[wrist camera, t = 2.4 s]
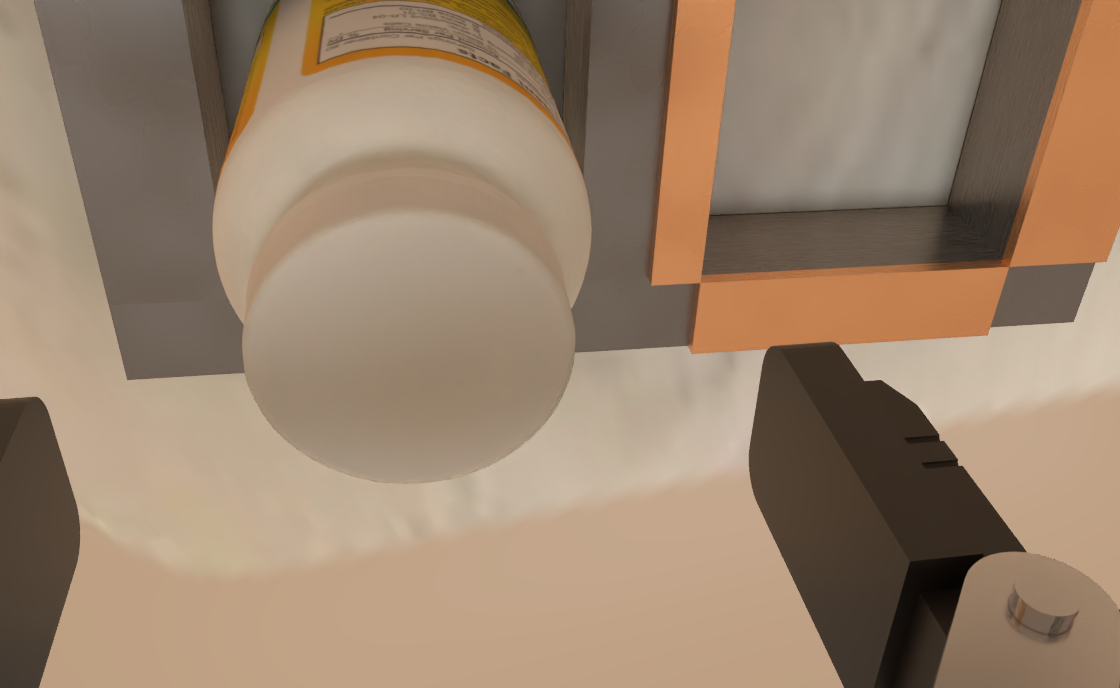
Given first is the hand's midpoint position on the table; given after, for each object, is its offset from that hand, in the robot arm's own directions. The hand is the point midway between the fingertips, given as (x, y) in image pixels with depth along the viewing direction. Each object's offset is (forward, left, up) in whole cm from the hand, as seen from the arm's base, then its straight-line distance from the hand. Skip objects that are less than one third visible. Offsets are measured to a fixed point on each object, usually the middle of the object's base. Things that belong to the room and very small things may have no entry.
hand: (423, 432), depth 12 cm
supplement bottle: (0, 0, -11) cm, 11 cm away
